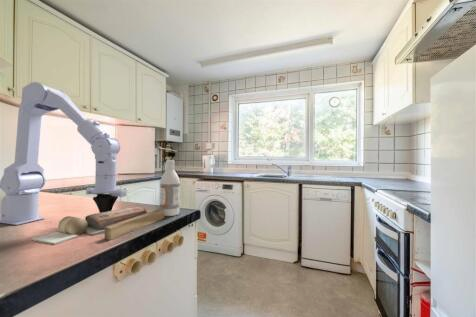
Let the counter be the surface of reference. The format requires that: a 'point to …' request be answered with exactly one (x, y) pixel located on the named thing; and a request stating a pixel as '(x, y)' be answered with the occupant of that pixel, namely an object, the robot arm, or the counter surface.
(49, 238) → the felt mat
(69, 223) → the roller
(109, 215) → the packaged product
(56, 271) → the counter surface
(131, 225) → the rail
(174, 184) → the bath foam
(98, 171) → the robot arm
